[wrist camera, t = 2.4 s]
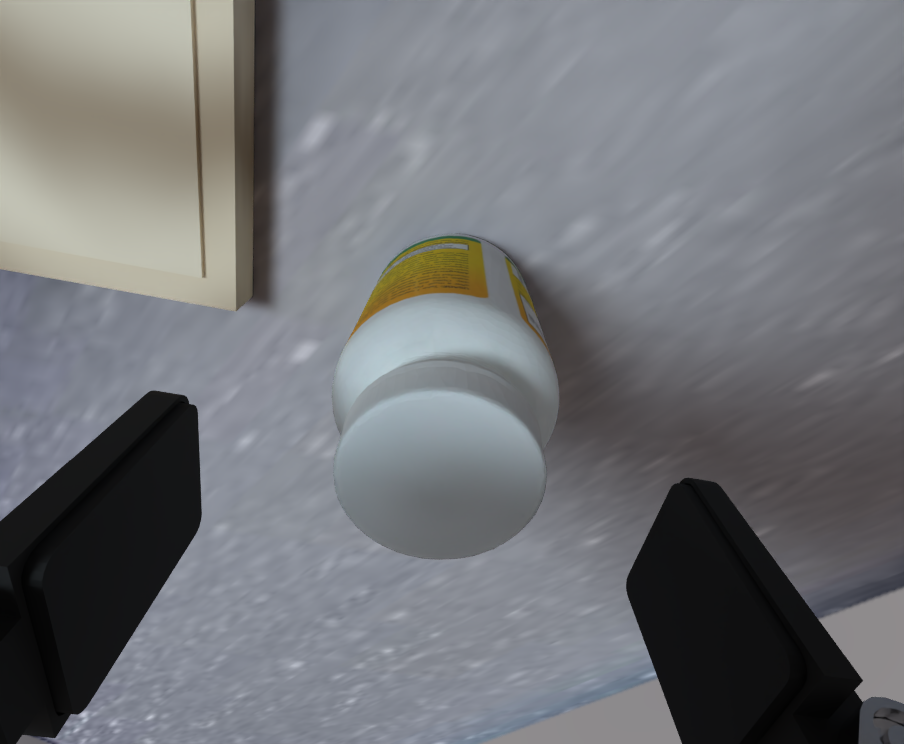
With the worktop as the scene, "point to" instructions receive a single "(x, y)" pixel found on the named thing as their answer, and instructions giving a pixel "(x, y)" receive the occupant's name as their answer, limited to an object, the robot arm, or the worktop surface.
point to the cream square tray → (129, 145)
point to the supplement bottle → (444, 403)
